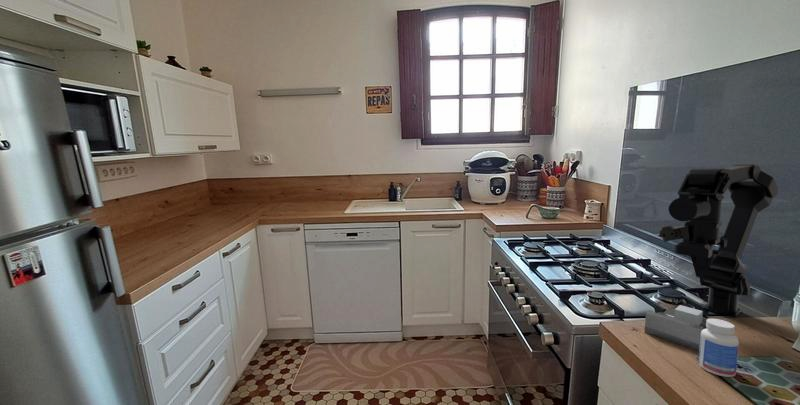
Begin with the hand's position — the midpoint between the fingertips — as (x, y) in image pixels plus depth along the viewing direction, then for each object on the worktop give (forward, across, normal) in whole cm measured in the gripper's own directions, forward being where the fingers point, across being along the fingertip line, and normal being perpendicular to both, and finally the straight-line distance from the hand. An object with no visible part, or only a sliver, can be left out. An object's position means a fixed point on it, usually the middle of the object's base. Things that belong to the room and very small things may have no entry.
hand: (699, 277), depth 83 cm
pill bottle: (+12, +23, +8) cm, 27 cm away
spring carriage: (+10, +7, -1) cm, 12 cm away
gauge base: (+12, +9, 0) cm, 15 cm away
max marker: (+10, +10, -5) cm, 15 cm away
